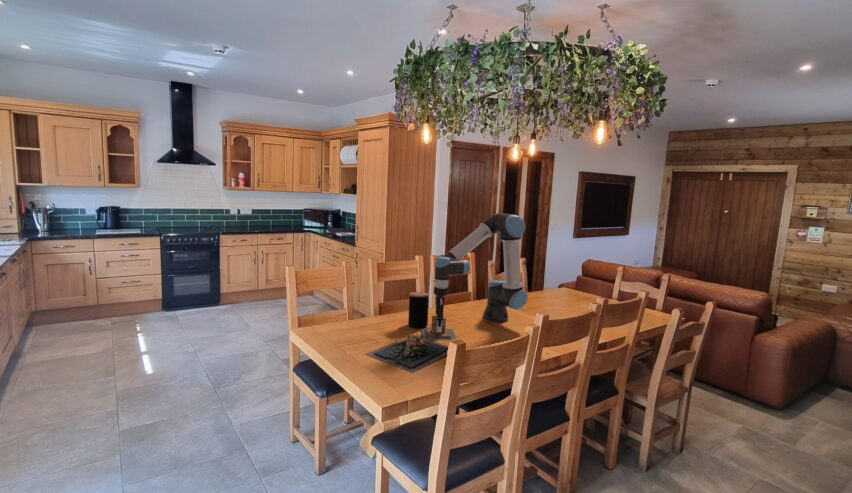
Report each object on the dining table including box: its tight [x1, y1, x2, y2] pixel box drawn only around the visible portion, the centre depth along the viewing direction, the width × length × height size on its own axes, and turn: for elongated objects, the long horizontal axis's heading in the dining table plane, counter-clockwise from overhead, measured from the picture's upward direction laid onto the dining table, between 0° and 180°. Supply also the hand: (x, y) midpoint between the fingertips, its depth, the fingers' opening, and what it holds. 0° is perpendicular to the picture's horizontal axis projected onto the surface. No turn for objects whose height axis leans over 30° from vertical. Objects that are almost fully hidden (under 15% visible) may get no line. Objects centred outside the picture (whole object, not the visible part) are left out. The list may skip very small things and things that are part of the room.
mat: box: [419, 327, 457, 342], centre depth 232 cm, size 18×18×1 cm
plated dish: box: [365, 330, 448, 374], centre depth 206 cm, size 35×28×7 cm
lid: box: [425, 315, 451, 339], centre depth 231 cm, size 12×12×9 cm
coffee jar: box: [408, 291, 430, 329], centre depth 242 cm, size 11×11×18 cm
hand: (438, 329), depth 231 cm, fingers open, 8 cm apart
